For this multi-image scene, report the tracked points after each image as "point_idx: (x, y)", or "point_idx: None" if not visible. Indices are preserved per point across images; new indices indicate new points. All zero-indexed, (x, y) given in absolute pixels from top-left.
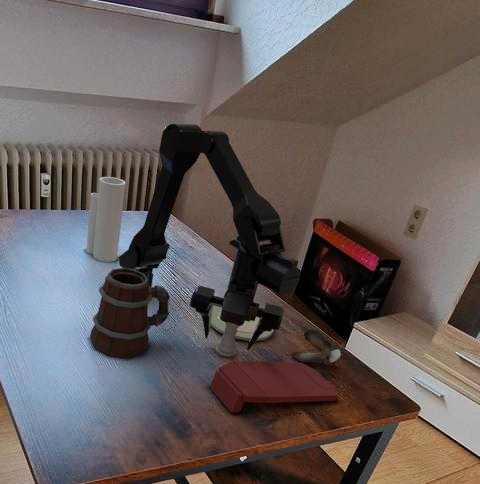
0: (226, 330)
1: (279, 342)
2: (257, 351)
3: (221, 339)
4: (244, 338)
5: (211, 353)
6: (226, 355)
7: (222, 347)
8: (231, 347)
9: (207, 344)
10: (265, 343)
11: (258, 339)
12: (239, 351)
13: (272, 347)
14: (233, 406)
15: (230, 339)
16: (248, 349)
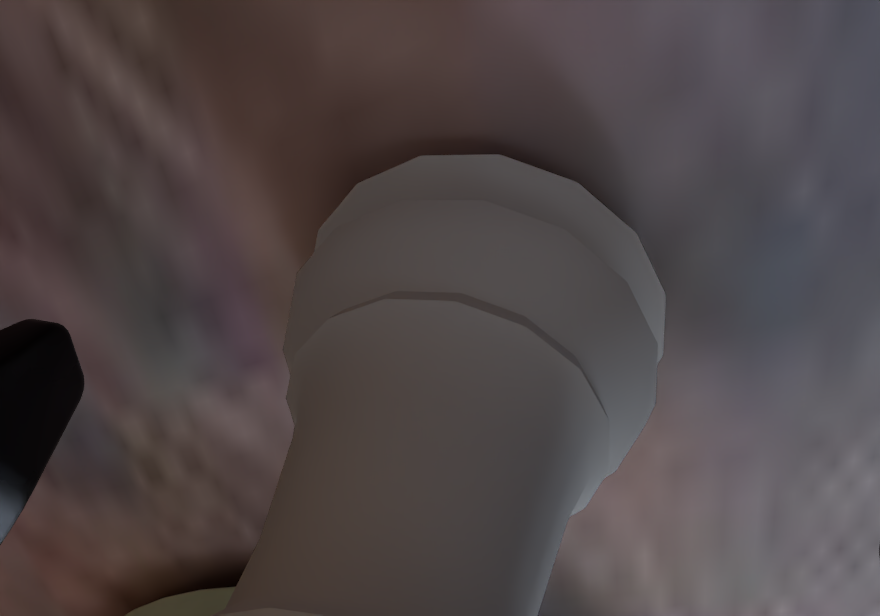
0: None
1: (3, 607)
2: (97, 434)
3: (578, 468)
4: None
5: (737, 180)
6: (435, 160)
7: (531, 272)
8: (341, 308)
9: (800, 424)
10: (95, 576)
11: (145, 612)
12: (288, 378)
13: (9, 531)
14: None
15: (347, 448)
16: (27, 319)
